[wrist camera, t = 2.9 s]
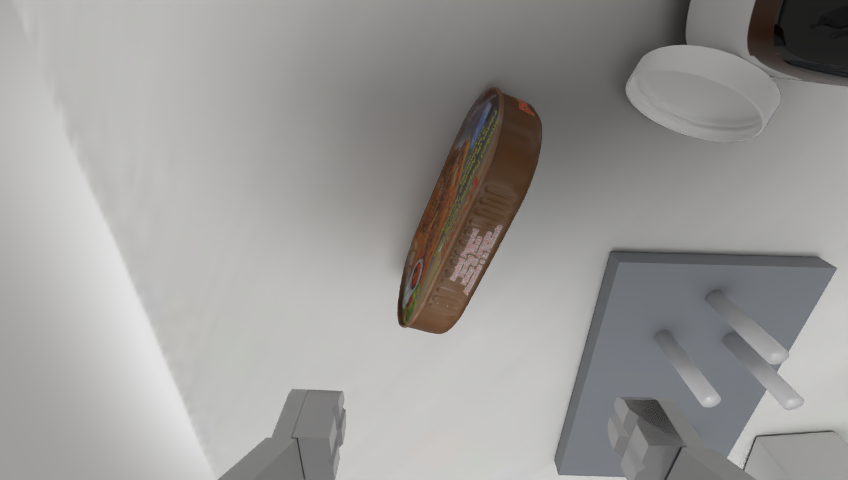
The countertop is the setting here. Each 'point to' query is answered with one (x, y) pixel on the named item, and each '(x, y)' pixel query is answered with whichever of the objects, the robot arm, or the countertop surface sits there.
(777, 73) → the spread jar
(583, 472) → the pin tray
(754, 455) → the medicine bottle
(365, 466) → the countertop surface
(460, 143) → the tin
